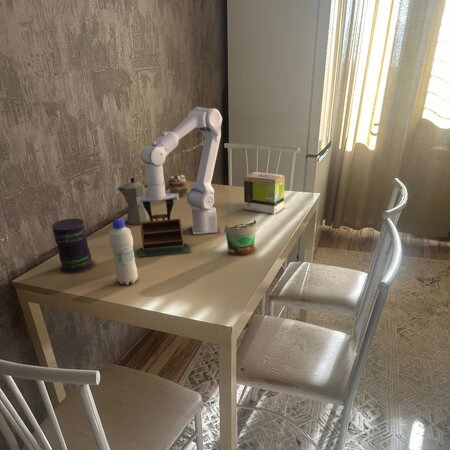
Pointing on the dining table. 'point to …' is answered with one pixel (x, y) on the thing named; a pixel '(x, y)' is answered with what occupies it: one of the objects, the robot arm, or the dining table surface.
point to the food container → (241, 238)
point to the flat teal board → (163, 250)
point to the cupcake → (178, 185)
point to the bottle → (123, 252)
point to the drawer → (161, 232)
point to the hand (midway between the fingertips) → (160, 221)
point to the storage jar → (72, 245)
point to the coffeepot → (134, 201)
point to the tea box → (264, 192)
